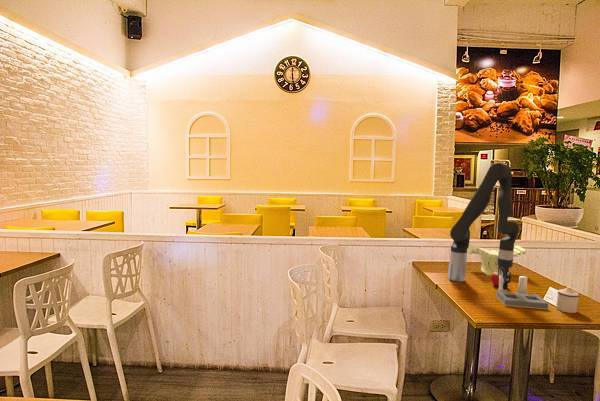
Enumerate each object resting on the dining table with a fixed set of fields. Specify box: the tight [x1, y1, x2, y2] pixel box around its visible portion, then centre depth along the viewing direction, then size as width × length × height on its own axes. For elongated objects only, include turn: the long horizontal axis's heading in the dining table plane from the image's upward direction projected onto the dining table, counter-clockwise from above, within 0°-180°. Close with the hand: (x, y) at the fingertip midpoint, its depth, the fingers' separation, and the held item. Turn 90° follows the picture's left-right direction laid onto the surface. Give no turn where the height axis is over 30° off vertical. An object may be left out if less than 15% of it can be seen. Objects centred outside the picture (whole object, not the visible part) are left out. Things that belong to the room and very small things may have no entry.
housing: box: [495, 290, 549, 310], centre depth 214 cm, size 20×14×3 cm
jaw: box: [497, 274, 508, 292], centre depth 228 cm, size 5×5×10 cm
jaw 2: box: [516, 275, 528, 294], centre depth 227 cm, size 5×5×10 cm
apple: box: [490, 272, 499, 287], centre depth 242 cm, size 8×8×10 cm
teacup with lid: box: [555, 286, 580, 314], centre depth 207 cm, size 12×9×12 cm
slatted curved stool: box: [467, 242, 527, 277], centre depth 270 cm, size 30×16×18 cm, turn 85°
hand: (502, 287), depth 228 cm, fingers open, 6 cm apart
